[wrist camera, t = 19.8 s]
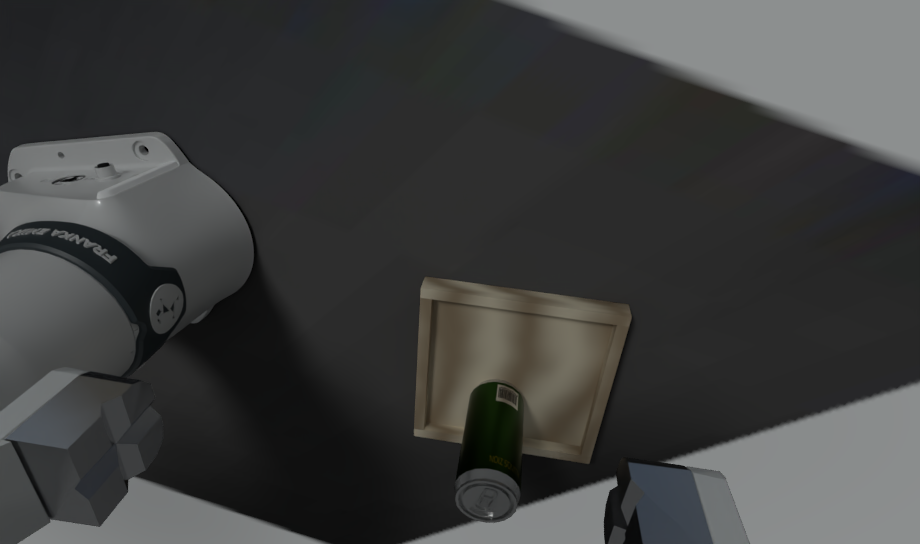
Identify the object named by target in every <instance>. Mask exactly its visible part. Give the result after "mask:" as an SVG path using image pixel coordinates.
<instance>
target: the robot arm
mask: <svg viewBox="0 0 920 544" xmlns="http://www.w3.org/2000/svg"><path fill="white" fill-rule="evenodd" d="M144 146H145V147H147V149H148V151H149V152H147V151H146V150H145V147H144ZM8 181H9V182H8V183H6V184H4V185H2V186H0V544H17V543H19V542H20V541H22V540H23V539H25V538H27V537H28V536H30V535H31V534H33V533H34V532H36V531H38V530H39V529H41V528H42V527H44V526H45V525H47V524H48V523H50V519H52V520H59V521H66V522H73V523H79V524H85V525H92V526H98V527H100V526H101V525H102V524H103V522H104V521H105V520H106V519H107V517H108V516H109V515H110V514H111V512H112V511H113V510H114V509H115V507H116V506H117V505H118V504H119V502H120V501H121V500H122V499H123V498H124V496H125V495H126V494H127V493H128V479H130V478H132V477H134V476H136V475H138V474H139V473H141V472H143V471H145V470H146V469H147V468H148V466H149V465H150V464H151V462H152V461H153V460H154V458H155V457H156V456H157V453H158V451H159V448H160V446H161V443H162V441H163V430H164V426H163V423H162V419H161V416H160V415H159V414H158V413H157V412H156V411H155V410H154V409H153V408H152V407H151V406H150V405H151V404H152V402H153V401H154V399H155V398H156V397H155V395H154V392H153V389H152V386H151V383H147V382H144V381H141V380H135V379H130V378H127V377H129V376H130V375H131V374H133V373H134V372H135V371H136V370H138V369H139V368H140V367H142V366H143V365H144V364H145V362H146V361H147V360H148V359H149V358H150V357H151V356H152V355H153V354H154V353H155V352H156V351H157V350H159V349H160V348H161V347H162V346H163V344H164V343H165V342H166V341H167V340H169V339H170V338H171V337H173V336H174V335H175V334H177V333H178V332H179V331H181V330H182V329H183V328H184V327H186V326H187V325H188V324H190V323H198V322H200V321H201V320H202V319H204V318H205V317H206V316H207V315H208V314H209V313H210V311H211V310H212V308H213V306H214V305H215V304H216V303H218V302H219V301H221V300H223V299H224V298H226V297H228V296H230V295H232V294H233V293H235V292H236V291H237V290H239V289H240V288H241V287H242V286H243V285H244V283H245V282H246V280H247V279H248V277H249V275H250V273H251V270H252V266H253V260H254V248H253V241H252V236H251V233H250V230H249V227H248V225H247V222H246V220H245V218H244V216H243V214H242V213H241V211H240V210H239V208H238V207H237V205H236V204H235V202H234V201H233V200H232V199H231V197H230V196H229V195H228V194H227V193H226V192H225V191H224V190H223V189H222V188H221V187H220V186H219V185H218V184H217V183H216V182H214V181H213V180H212V179H210V178H209V177H208V176H206V175H205V174H203V173H202V172H201V171H199V170H198V169H197V168H195V167H194V166H193V165H192V164H191V163H190V162H189V161H188V160H187V158H186V157H185V156H184V154H183V153H182V152H181V150H180V149H179V148H178V147H177V145H176V144H175V143H174V142H173V141H172V140H171V139H170V138H169V137H168V136H166V135H165V134H163V133H160V132H149V133H138V134H127V135H116V136H105V137H94V138H83V139H72V140H62V141H51V142H40V143H30V144H23V145H20V146H18V147H16V148H14V149H13V150H12V151H11V154H10V157H9V162H8ZM616 476H617V484H618V486H617V487H615V488H613V489H612V490H610V492H609V496H608V499H607V503H606V509H605V517H604V538H605V544H750V543H749V540H748V538H747V535H746V532H745V529H744V527H743V524H742V521H741V519H740V516H739V513H738V511H737V508H736V505H735V503H734V500H733V497H732V494H731V492H730V489H729V486H728V484H727V481H726V478H725V477H724V476H723V475H722V473H721V472H720V471H713V470H707V469H699V468H693V467H685V466H681V465H675V464H668V463H661V462H655V461H648V460H641V459H635V458H628V457H623V458H622V460H621V461H620V462H619V465H618V468H617V471H616Z"/></svg>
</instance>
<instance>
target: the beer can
mask: <svg viewBox="0 0 920 544" xmlns="http://www.w3.org/2000/svg"><path fill="white" fill-rule="evenodd" d="M523 421H524V401H523V398H522V396H521V394H520V393H519V391H518V389H517V388H516V387H515V386H514V385H512V384H511V383H509V382H507V381H505V380H499V379H490V380H486V381H484V382H482V383H480V384H479V385H477V386H476V387H475V388H474V390H473V391H472V393H471V394H470V398H469V404H468V410H467V416H466V422H465V428H464V434H463V439H462V445H461V451H460V457H459V463H458V469H457V475H456V481H455V487H454V490H455V493H456V498H455V501H456V504H457V507H458V508H459V509H460V510H461V512H462V513H464V514H465V515H466V516H468V517H470V518H472V519H474V520H477V521H481V522H500V521H504V520H506V519H508V518H509V517H511V516H512V515H513V514H514V513H515V512H516V508H517V503H518V502H519V499H520V495H521V472H522V447H523Z"/></svg>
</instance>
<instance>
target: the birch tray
mask: <svg viewBox="0 0 920 544" xmlns="http://www.w3.org/2000/svg"><path fill="white" fill-rule="evenodd" d="M631 318H632V316H631V312H630V308H629V304H622V303H615V302H608V301H600V300H593V299H586V298H578V297H571V296H564V295H556V294H549V293H542V292H535V291H527V290H520V289H513V288H505V287H498V286H491V285H483V284H476V283H469V282H461V281H454V280H447V279H440V278H432V277H425V279H424V281H423V284H422V286H421V296H420V317H419V337H418V358H417V379H416V400H415V421H414V436H418V437H425V438H431V439H437V440H443V441H449V442H456V443H462V439H463V434H464V428H465V422H466V416H467V410H468V404H469V398H470V394H471V393H472V391H473V390H474V388H475V387H476V386H477V385H479V384H480V383H482V382H484V381H486V380H490V379H499V380H505V381H507V382H509V383H511V384H512V385H514V386H515V387H516V388H517V389H518V391H519V393H520V394H521V396H522V398H523V401H524V421H523V447H522V453H524V454H530V455H536V456H542V457H549V458H555V459H561V460H567V461H573V462H580V463H586V464H589V463H590V459H591V456H592V452H593V449H594V446H595V442H596V439H597V435H598V432H599V428H600V425H601V421H602V418H603V415H604V411H605V408H606V404H607V401H608V397H609V394H610V391H611V387H612V384H613V380H614V377H615V373H616V370H617V366H618V363H619V360H620V356H621V353H622V349H623V346H624V342H625V339H626V336H627V332H628V329H629V325H630V322H631Z"/></svg>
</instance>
